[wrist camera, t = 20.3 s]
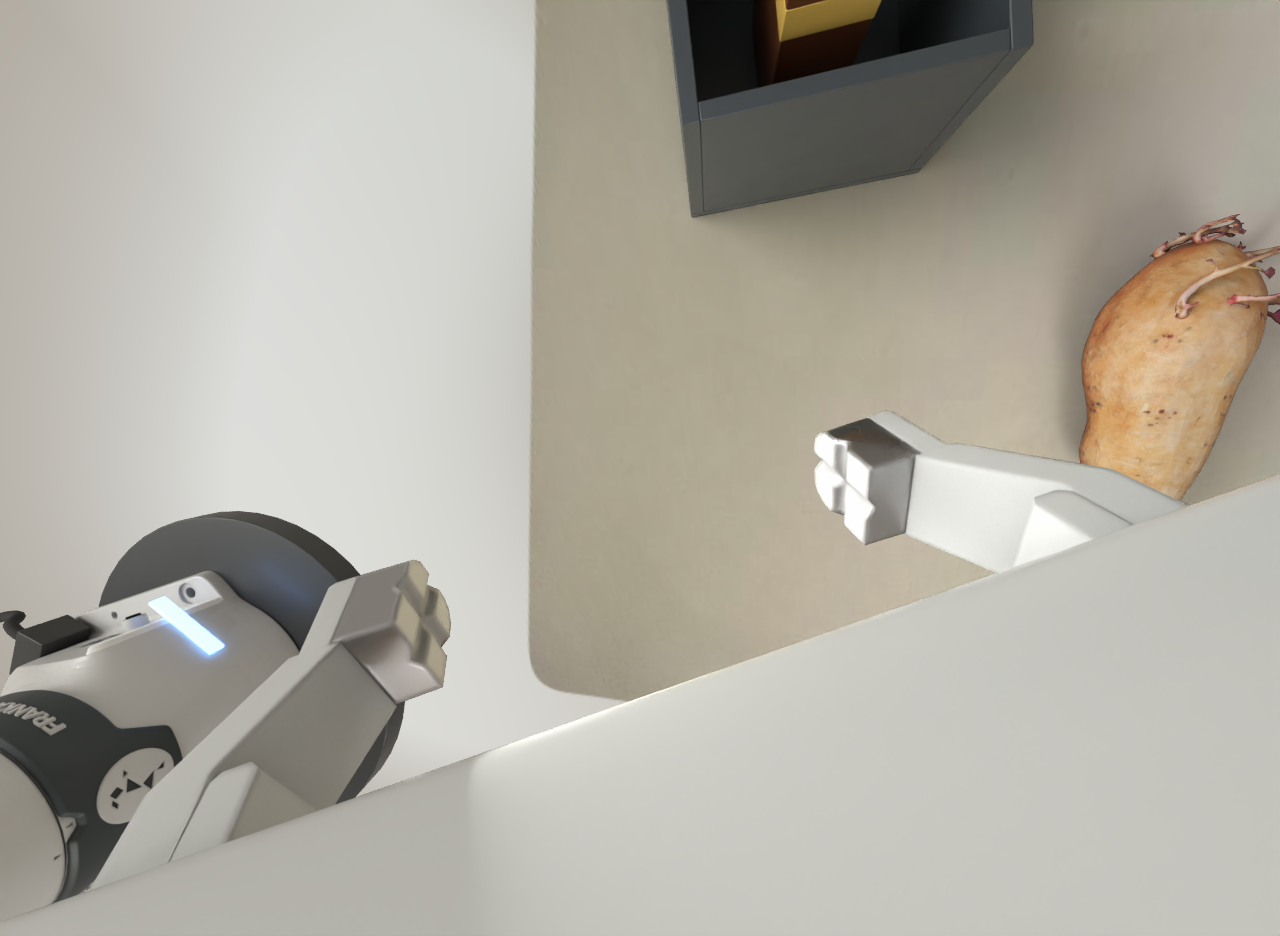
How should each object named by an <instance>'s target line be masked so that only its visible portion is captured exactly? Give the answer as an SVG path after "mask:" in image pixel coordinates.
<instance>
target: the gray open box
mask: <svg viewBox="0 0 1280 936" xmlns="http://www.w3.org/2000/svg"><path fill="white" fill-rule="evenodd" d="M666 2H667V11H668V20H669V28H670V37H671V45H672V54H673V63H674V71H675V80H676V88H677V97H678V106H679V114H680V123H681V131H682V140H683V149H684V157H685V166H686V174H687V183H688V192H689V200H690V209H691V217H697V216H702V215H707V214H712V213H717V212H722V211H727V210H732V209H737V208H742V207H747V206H752V205H757V204H762V203H767V202H772V201H777V200H782V199H787V198H792V197H797V196H802V195H807V194H812V193H817V192H822V191H827V190H832V189H837V188H842V187H847V186H852V185H857V184H862V183H867V182H872V181H877V180H882V179H888V178H893V177H898V176H903V175H908V174H913V173H917V172H919V171H920V170H921V168H922V167H923V166H924V165H925V164H926V163H927V161H928V160H929V159H930V158H931V157H932V156H933V155H934V154H935V153H936V151H937V150H938V149H939V148H940V147H941V146H942V145H943V144H944V143H945V142H946V140H947V139H948V138H949V137H950V136H951V135H952V134H953V133H954V132H955V130H956V129H957V128H958V127H959V126H960V125H961V124H962V123H963V122H964V120H965V119H966V118H967V117H968V116H969V115H970V114H971V113H972V112H973V111H974V109H975V108H976V107H977V106H978V105H979V104H980V103H981V102H982V101H983V99H984V98H985V97H986V96H987V95H988V94H989V93H990V92H991V91H992V89H993V88H994V87H995V86H996V85H997V84H998V83H999V82H1000V81H1001V80H1002V78H1003V77H1004V76H1005V75H1006V74H1007V73H1008V72H1009V71H1010V70H1011V68H1012V67H1013V66H1014V65H1015V64H1016V63H1017V62H1018V61H1019V60H1020V58H1021V57H1022V56H1023V55H1024V54H1025V53H1026V52H1027V51H1028V50H1029V49H1030V47H1031V46H1032V45H1033V14H1032V0H881V3H880V5H879V7H878V10H877V12H876V14H875V17H874V18H872V21H871V23H870V26H869V28H868V30H867V33H866V35H865V37H864V40H863V42H862V45H861V47H860V49H859V52H858V54H857V56H856V59H855V61H854V64H853V65H852V66H848V67H843V68H839V69H835V70H831V71H827V72H822V73H818V74H814V75H810V76H806V77H801V78H797V79H793V80H789V81H785V82H780V83H776V84H772V85H768V86H763V87H759V88H758V83H757V73H756V64H755V54H754V44H753V34H752V19H753V9H754V0H666Z"/></svg>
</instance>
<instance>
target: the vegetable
mask: <svg viewBox="0 0 1280 936" xmlns="http://www.w3.org/2000/svg"><path fill="white" fill-rule="evenodd" d="M1238 215H1240V214H1238ZM1238 215H1233V216H1229V217H1226V218H1224V219H1221V220H1218V221H1215V222H1210V223H1207V224H1206V225H1204V226H1202V227H1201V228H1200V229H1198V230H1197V231H1196V232H1194V233H1191V234H1188V235H1186V234H1185V233H1179V232H1178V233H1179V234H1180V236H1179V237H1178V238H1176V239H1174V240H1172V241H1170V242H1168V241H1167V242H1168V243H1167V242H1165V243H1164V244H1163V245H1161V246H1160V247H1158V248H1157V249H1156V250H1155V251H1154V252H1153V254H1152V255H1151V256H1152V257H1154V258H1155V260H1153V261H1152V262H1151V263H1149V264H1148V265H1147V266H1145V267H1144V268H1143V269H1142V270H1141V271H1139V272H1138V273H1137V274H1136V275H1135V276H1134V277H1133V278H1132V279H1131V280H1130V281H1128V282H1127V283H1126V284H1125V285H1124V286H1123V287H1122V288H1121V289H1120V290H1118V291H1117V292H1116V293H1115V294H1114V295H1113V296H1112V297H1111V298H1110V299H1109V301H1108V302H1107V303H1106V304H1105V305H1104V307H1103V308H1102V310H1101V311H1100V312H1099V314H1098V315H1097V317H1096V319H1095V322H1094V324H1093V327H1092V329H1091V332H1090V334H1089V337H1088V339H1087V342H1086V344H1085V347H1084V351H1083V357H1082V381H1083V386H1084V392H1085V399H1086V406H1087V423H1086V427H1085V430H1084V433H1083V436H1082V440H1081V444H1080V448H1079V458H1080V464H1086V465H1092V466H1098V467H1104V468H1110V469H1114V470H1116V471H1118V472H1120V473H1122V474H1124V475H1126V476H1128V477H1130V478H1132V479H1135V480H1137V481H1139V482H1141V483H1143V484H1145V485H1147V486H1149V487H1151V488H1153V489H1155V490H1157V491H1159V492H1161V493H1163V494H1165V495H1168V496H1170V497H1172V498H1174V499H1176V500H1178V501H1180V500H1181V498H1182V497H1183V495H1184V494H1185V492H1186V491H1187V490H1188V488H1189V487H1190V485H1191V484H1192V483H1193V481H1194V480H1195V478H1196V476H1197V475H1198V473H1199V472H1200V470H1201V469H1202V467H1203V465H1204V463H1205V462H1206V460H1207V458H1208V456H1209V454H1210V452H1211V450H1212V447H1213V445H1214V443H1215V441H1216V439H1217V437H1218V434H1219V432H1220V430H1221V428H1222V425H1223V422H1224V419H1225V417H1226V414H1227V412H1228V409H1229V407H1230V404H1231V402H1232V399H1233V397H1234V395H1235V392H1236V390H1237V388H1238V385H1239V383H1240V382H1241V380H1242V378H1243V376H1244V374H1245V372H1246V371H1247V369H1248V367H1249V365H1250V363H1251V361H1252V359H1253V357H1254V355H1255V353H1256V351H1257V349H1258V347H1259V345H1260V343H1261V339H1262V336H1263V332H1264V328H1265V324H1266V320H1267V316H1269V317H1271V318H1272V319H1273V320H1274V321H1276V322H1277V323H1279V324H1280V309H1279V310H1277V311H1276V312H1275V313H1272V312H1269V311H1268V305H1275V304H1277V305H1280V293H1278V294H1274V295H1269V296H1268V292H1267V288H1266V285H1265V283H1264V281H1263V279H1262V277H1261V275H1260V273H1259V271H1261V272H1264V273H1265V275H1266V276H1267V277H1268V278H1269V279H1270V278H1271V277H1272V276H1273V275H1274V274H1275V269H1274V268H1272V267H1270V268H1269V269H1268V270H1266V271H1264V270H1263V269H1261V268H1259V267H1256V265H1255V262H1257V261H1258V262H1262V261H1261V260H1262V259H1265V258H1267V257H1269V256H1272V255H1275V254H1279V253H1280V246H1277V247H1273V248H1268V249H1262V250H1256V251H1249V252H1244V253H1243V252H1242V251H1241V250H1242V249H1244V248H1246V246H1244V247H1242V243H1241V241H1240V245H1239V246H1238V247H1236V246H1234V245H1232V244H1229V243H1227V242H1224V241H1221V240H1218V239H1216V240H1213V239H1215V238H1218V237H1221V236H1224V235H1226V236H1228V237H1234V236H1235V234H1233V233H1240V234H1244V233H1245V232H1246V231H1247V230H1244V229H1243V228H1242V224H1244V223H1241V222H1240V221H1239V220H1238V219H1236V216H1238ZM1231 220H1235V221H1234V222H1233V223H1231V224H1229V225H1232V224H1233V225H1234V227H1229V225H1226V226H1222V227H1218V228H1213V229H1209V228H1210V227H1212V226H1214V225H1217V224H1220V223H1222V222H1227V221H1231ZM1207 229H1208V230H1207ZM1228 232H1233V233H1228ZM1212 233H1220V234H1217V235H1213V236H1209V237H1207V234H1212ZM1205 235H1206V236H1205ZM1203 236H1205V237H1204V238H1203V239H1202V237H1203ZM1189 240H1192V241H1193V242H1191V243H1187V244H1184V243H1186V242H1187V241H1189ZM1181 244H1184V245H1181ZM1176 245H1181V246H1178V247H1175V248H1173V249H1171V247H1174V246H1176ZM1149 257H1150V256H1149ZM1262 263H1263V262H1262ZM1258 270H1259V271H1258Z"/></svg>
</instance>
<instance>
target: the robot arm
mask: <svg viewBox="0 0 1280 936" xmlns="http://www.w3.org/2000/svg"><path fill="white" fill-rule="evenodd" d="M814 452H815V453H816V454H817V455H818V456H819V457H820V458H821V460H820V462H819V463H818V465H817V467H816V468H815V484H816V487H817V490H818V493H819V496H820V497H821V499H822V501H823V502H824V504H825V505H826V506H827V507H828V508H829V509H830V510H831V511H832V512H835V513H838V514H842V515H845V516H844V525H845V526H846V527H847V528H848V529H849V530H850V531H851V532H852V533H853V534H854V535H855V536H856V537H857V538H858V539H859V540H860V541H861V542H862V543H863V544H864V545H867V544H871V543H874V542H877V541H880V540H884V539H887V538H890V537H893V536H897V535H900V534H903V533H906V534H905V535H907V536H909V537H912V538H914V539H916V540H919V541H921V542H923V543H926V544H928V545H931V546H933V547H935V548H938V549H940V550H943V551H945V552H947V553H950V554H952V555H955V556H957V557H959V558H962V559H964V560H967V561H969V562H971V563H974V564H976V565H978V566H981V567H983V568H986V569H988V570H990V571H993V572H995V574H993V575H990V576H987V577H984V578H981V579H978V580H975V581H973V582H970V583H967V584H964V585H961V586H958V587H955V588H953V589H950V590H947V591H944V592H941V593H938V594H935V595H933V596H930V597H927V598H924V599H921V600H918V601H915V602H913V603H910V604H907V605H904V606H901V607H898V608H895V609H893V610H890V611H887V612H884V613H881V614H878V615H875V616H873V617H870V618H867V619H864V620H861V621H858V622H855V623H852V624H850V625H847V626H844V627H841V628H838V629H835V630H832V631H830V632H827V633H824V634H821V635H818V636H815V637H812V638H810V639H807V640H804V641H801V642H798V643H795V644H792V645H790V646H787V647H784V648H781V649H778V650H775V651H772V652H770V653H767V654H764V655H761V656H758V657H755V658H752V659H749V660H747V661H744V662H741V663H738V664H735V665H732V666H730V667H727V668H724V669H721V670H718V671H715V672H712V673H710V674H707V675H704V676H701V677H698V678H695V679H692V680H690V681H687V682H684V683H681V684H678V685H675V686H672V687H670V688H667V689H664V690H661V691H658V692H655V693H652V694H650V695H647V696H644V697H641V698H638V699H635V700H632V701H630V702H627V703H624V704H621V705H618V706H615V707H613V708H610V709H607V710H604V711H601V712H598V713H596V714H593V715H590V716H587V717H584V718H581V719H578V720H576V721H572V722H570V723H567V724H564V725H561V726H558V727H555V728H552V729H550V730H547V731H544V732H541V733H538V734H536V735H532V736H530V737H527V738H524V739H521V740H518V741H515V742H512V743H510V744H507V745H504V746H501V747H498V748H495V749H493V750H490V751H487V752H484V753H481V754H478V755H476V756H473V757H470V758H467V759H464V760H461V761H458V762H455V763H452V764H450V765H447V766H444V767H441V768H438V769H435V770H432V771H430V772H427V773H424V774H421V775H418V776H415V777H413V778H410V779H407V780H404V781H401V782H398V783H395V784H393V785H390V786H387V787H384V788H381V789H378V790H375V791H372V792H370V793H367V794H364V795H361V796H358V797H355V798H352V799H350V800H347V801H344V802H341V803H338V804H336V802H337V800H338V799H339V797H340V796H341V794H342V793H343V791H344V789H345V788H346V786H347V785H348V783H349V781H350V780H351V778H352V777H353V775H354V774H355V772H356V770H357V769H358V767H359V766H360V764H361V763H362V761H363V759H364V758H365V756H366V755H367V753H368V751H369V750H370V748H371V747H372V745H373V744H374V742H375V740H376V739H377V737H378V736H379V734H380V733H381V731H382V729H383V728H384V726H385V725H386V723H387V721H388V720H389V718H390V717H391V715H392V714H393V712H394V710H395V709H396V707H397V706H396V705H395V704H398V703H401V702H404V701H406V700H409V699H412V698H415V697H417V696H420V695H423V694H425V693H428V692H431V691H433V690H436V689H439V688H442V687H443V682H444V675H445V667H446V660H447V655H446V654H445V653H444V651H443V650H442V648H441V647H442V646H443V645H444V643H445V642H446V641H447V639H448V638H449V637H450V628H451V621H450V614H449V609H448V606H447V603H446V601H445V599H444V597H443V595H442V594H441V592H440V591H439V590H438V589H436V588H433V587H431V586H429V585H427V580H428V576H429V573H428V572H427V570H426V569H425V568H424V567H423V565H422V563H421V562H420V561H416V560H411V561H407V562H404V563H401V564H397V565H394V566H391V567H387V568H383V569H380V570H377V571H373V572H370V573H367V574H363V575H361V576H356V577H353V578H350V579H347V580H343V581H340V582H337V583H335V584H333V585H332V586H330V587H329V588H328V590H327V593H326V595H325V597H324V599H323V602H322V604H321V606H320V608H319V611H318V613H317V615H316V617H315V620H314V622H313V624H312V626H311V628H310V631H309V633H308V635H307V637H306V640H305V642H304V644H303V646H302V649H301V651H300V652H299V650H298V648H297V647H296V645H295V643H294V642H293V640H292V639H291V638H290V636H289V635H288V634H287V633H286V631H285V630H284V629H283V628H282V627H281V626H280V625H279V624H278V623H277V622H276V621H275V620H274V619H272V618H271V617H270V616H269V615H267V614H266V613H264V612H263V611H261V610H260V609H258V608H256V607H255V606H253V605H251V604H249V603H248V602H246V601H244V600H243V599H242V598H240V597H239V596H238V595H237V594H236V593H235V591H234V590H233V589H232V588H231V587H230V586H229V584H228V583H227V582H226V581H225V580H224V579H223V578H222V577H221V576H220V575H218V574H217V573H215V572H213V571H204V572H201V573H198V574H195V575H192V576H189V577H186V578H183V579H180V580H177V581H174V582H171V583H168V584H165V585H162V586H160V587H157V588H154V589H151V590H148V591H145V592H142V593H139V594H136V595H133V596H130V597H127V598H124V599H121V600H118V601H115V602H113V603H110V604H107V605H104V606H101V607H98V608H95V609H92V610H89V611H87V612H85V613H82V614H80V615H78V616H76V617H74V618H73V617H71V616H69V615H65V616H62V617H60V618H57V619H53V620H50V621H47V622H44V623H42V624H38V625H35V626H32V627H29V628H26V629H24V628H23V627H22V626H21V625H20V624H19V623H20V622H22V621H23V620H24V619H25V617H26V615H25V613H24V612H21V611H7V612H3V613H0V622H4V621H5V622H4V624H3V628H4V630H5V631H6V633H7V634H8V635H9V636H11V637H12V638H13V639H15V640H16V642H15V647H14V653H13V658H12V663H11V668H10V677H9V679H8V680H7V683H6V685H5V687H4V689H3V691H2V693H1V695H0V936H1280V474H1278V475H1275V476H1273V477H1270V478H1267V479H1264V480H1261V481H1258V482H1255V483H1253V484H1250V485H1247V486H1244V487H1241V488H1238V489H1235V490H1233V491H1230V492H1227V493H1224V494H1221V495H1218V496H1215V497H1213V498H1210V499H1207V500H1204V501H1201V502H1198V503H1195V504H1193V505H1190V506H1188V505H1186V504H1184V503H1182V502H1180V501H1178V500H1176V499H1174V498H1172V497H1170V496H1168V495H1165V494H1163V493H1161V492H1159V491H1157V490H1155V489H1153V488H1151V487H1149V486H1147V485H1145V484H1143V483H1141V482H1139V481H1137V480H1135V479H1132V478H1130V477H1128V476H1126V475H1124V474H1122V473H1120V472H1118V471H1116V470H1114V469H1110V468H1104V467H1098V466H1092V465H1086V464H1080V463H1074V462H1068V461H1062V460H1056V459H1050V458H1044V457H1038V456H1033V455H1027V454H1021V453H1015V452H1009V451H1003V450H997V449H991V448H985V447H979V446H973V445H967V444H961V443H953V444H950V445H948V444H946V443H945V442H943V441H941V440H940V439H938V438H936V437H935V436H933V435H931V434H930V433H928V432H926V431H925V430H923V429H921V428H920V427H918V426H916V425H915V424H913V423H911V422H910V421H908V420H906V419H905V418H903V417H901V416H900V415H898V414H896V413H895V412H893V411H883V412H880V413H877V414H874V415H871V416H868V417H866V418H863V419H862V420H859V421H856V422H853V423H849V424H846V425H843V426H840V427H837V428H834V429H831V430H828V431H825V432H822V433H819V434H817V436H816V439H815V448H814ZM90 887H91V888H90ZM89 888H90V890H89V891H87V892H85V891H86V890H88V889H89Z"/></svg>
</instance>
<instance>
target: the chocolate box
mask: <svg viewBox="0 0 1280 936" xmlns="http://www.w3.org/2000/svg"><path fill="white" fill-rule="evenodd" d="M880 3H881V0H754V9H753V19H752V34H753V44H754V54H755V64H756V73H757V83H758V88H759V87H763V86H768V85H772V84H776V83H780V82H785V81H789V80H793V79H797V78H801V77H806V76H810V75H814V74H818V73H822V72H827V71H831V70H835V69H839V68H843V67H848V66H852V65H853V64H854V61H855V59H856V56H857V54H858V52H859V49H860V47H861V45H862V42H863V40H864V37H865V35H866V33H867V30H868V28H869V26H870V23H871V21H872V18H874V17H875V14H876V12H877V10H878V7H879V5H880Z"/></svg>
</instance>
